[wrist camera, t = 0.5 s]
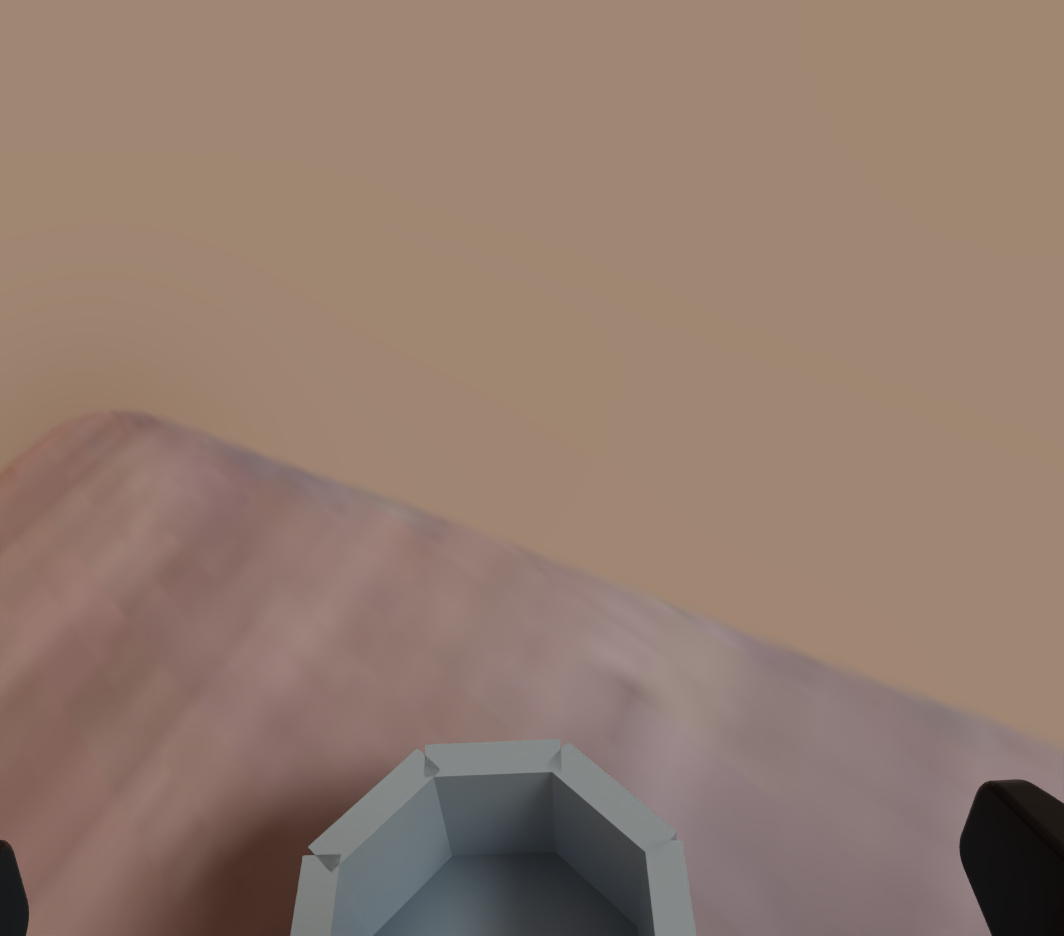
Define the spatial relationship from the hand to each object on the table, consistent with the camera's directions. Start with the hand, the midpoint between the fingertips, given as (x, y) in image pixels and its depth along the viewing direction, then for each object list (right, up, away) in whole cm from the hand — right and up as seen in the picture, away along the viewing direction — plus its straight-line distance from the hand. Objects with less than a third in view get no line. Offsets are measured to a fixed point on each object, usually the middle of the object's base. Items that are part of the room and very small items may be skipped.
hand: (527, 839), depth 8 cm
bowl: (-1, -9, +13) cm, 16 cm away
